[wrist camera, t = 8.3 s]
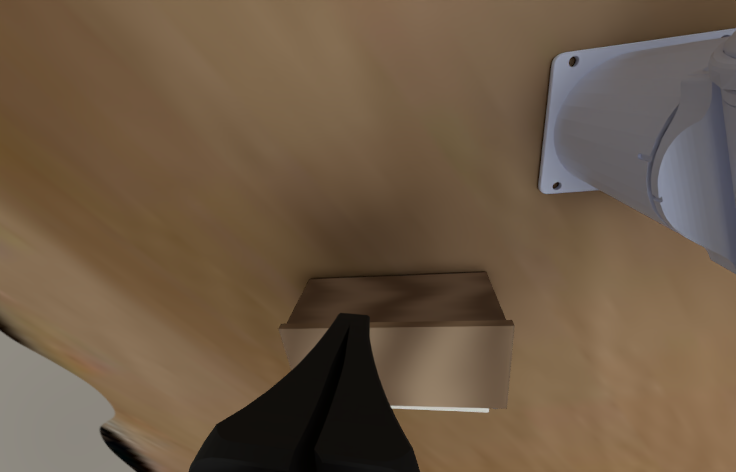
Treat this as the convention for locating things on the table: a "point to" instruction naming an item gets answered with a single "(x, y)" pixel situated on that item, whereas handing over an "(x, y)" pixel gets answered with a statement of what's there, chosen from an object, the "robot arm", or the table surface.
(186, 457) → the table surface
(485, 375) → the cabinet
